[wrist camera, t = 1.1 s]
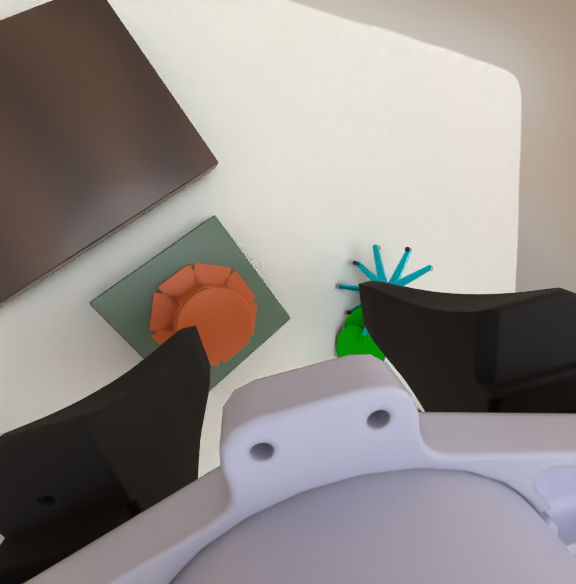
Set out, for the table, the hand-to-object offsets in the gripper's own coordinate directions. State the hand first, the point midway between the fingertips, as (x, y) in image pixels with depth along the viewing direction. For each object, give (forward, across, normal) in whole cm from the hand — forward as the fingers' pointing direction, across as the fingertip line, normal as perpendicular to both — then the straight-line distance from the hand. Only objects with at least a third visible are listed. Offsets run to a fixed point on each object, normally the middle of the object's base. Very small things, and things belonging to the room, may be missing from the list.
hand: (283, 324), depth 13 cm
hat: (+8, +5, +2) cm, 9 cm away
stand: (+10, +11, -9) cm, 18 cm away
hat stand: (+10, +6, +2) cm, 12 cm away
